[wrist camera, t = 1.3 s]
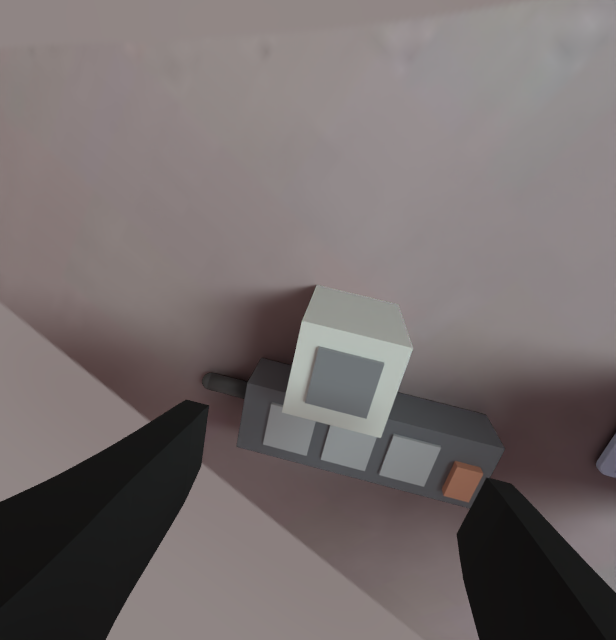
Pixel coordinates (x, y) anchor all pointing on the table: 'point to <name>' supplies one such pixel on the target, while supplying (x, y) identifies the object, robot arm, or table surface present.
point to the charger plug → (348, 361)
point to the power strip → (371, 439)
